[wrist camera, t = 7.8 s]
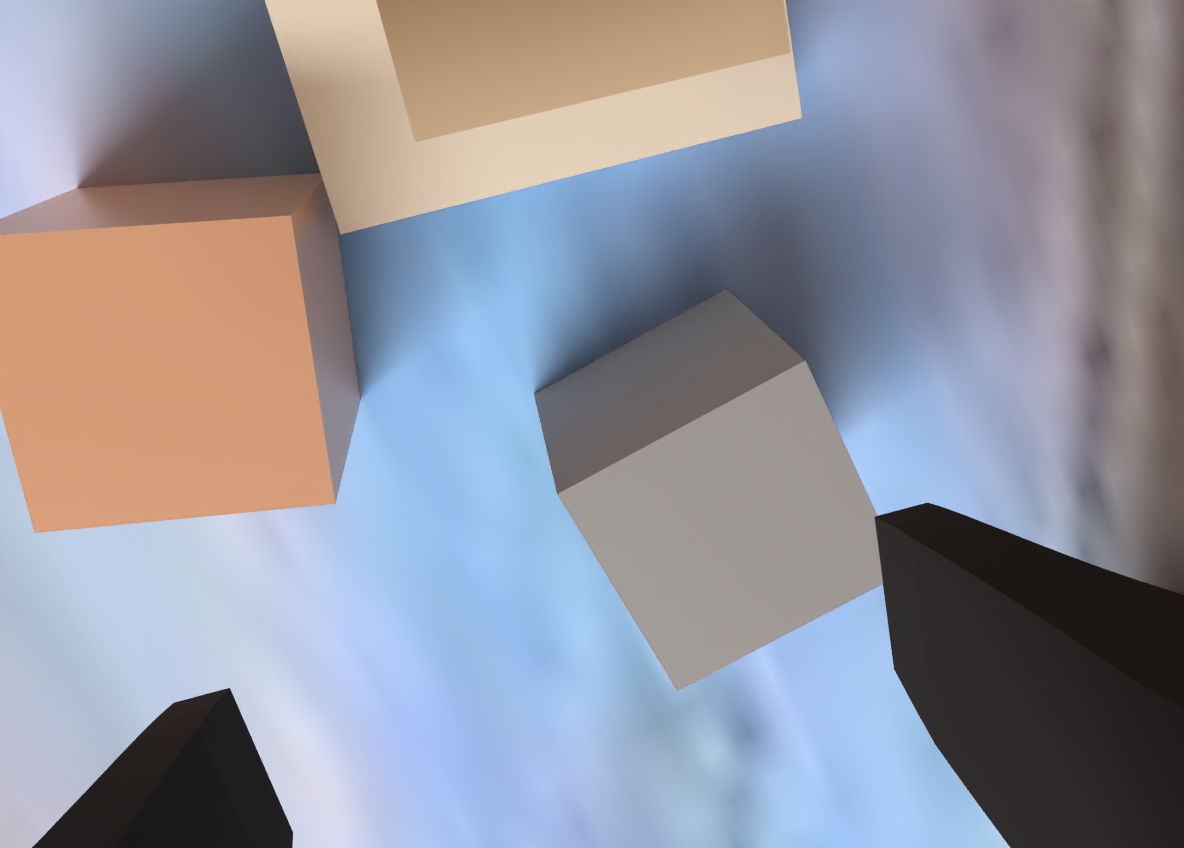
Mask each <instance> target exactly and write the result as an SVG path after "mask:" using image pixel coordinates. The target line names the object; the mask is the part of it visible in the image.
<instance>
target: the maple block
mask: <svg viewBox="0 0 1184 848" xmlns="http://www.w3.org/2000/svg"><path fill="white" fill-rule="evenodd" d="M376 2H377V6H378V9H379V13H380V17H381V20H382V24H383V28H384V31H385V35H386V38H387V42H388V46H389V49H390V53H391V57H392V60H393V64H394V67H395V71H396V75H397V78H398V82H399V86H400V89H401V93H402V96H403V100H404V104H405V107H406V111H407V115H408V118H409V122H410V125H411V129H412V133H413V136H414V140H415V142H418V141H423V140H427V139H431V138H435V137H439V136H444V135H448V134H452V133H456V132H460V131H465V130H469V129H473V128H477V127H481V126H486V125H490V124H494V123H498V122H502V121H507V120H511V119H515V118H519V117H523V116H527V115H532V114H536V113H540V112H544V111H548V110H553V109H557V108H561V107H565V106H569V105H574V104H578V103H582V102H586V101H590V100H595V99H599V98H603V97H607V96H611V95H616V94H620V93H624V92H628V91H632V90H637V89H641V88H645V87H649V86H653V85H658V84H662V83H666V82H670V81H674V80H679V79H683V78H687V77H691V76H695V75H700V74H704V73H708V72H712V71H716V70H720V69H725V68H729V67H733V66H737V65H741V64H746V63H750V62H754V61H758V60H762V59H767V58H771V57H775V56H779V55H783V54H788V53H791V51H790V44H789V36H788V29H787V21H786V14H785V6H784V0H376Z"/></svg>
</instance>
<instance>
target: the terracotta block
mask: <svg viewBox="0 0 1184 848" xmlns="http://www.w3.org/2000/svg"><path fill="white" fill-rule="evenodd" d="M360 400H361V398H360V391H359V384H358V376H357V369H356V362H355V355H354V347H353V340H352V333H351V326H350V318H349V311H348V304H347V296H346V289H345V282H344V275H343V267H342V260H341V253H340V246H339V238H338V231H337V224H336V219H335V216H334V213H333V209H332V206H331V203H330V200H329V197H328V194H327V191H326V188H325V185H324V182H323V179H322V176H321V173H310V174H294V175H278V176H262V177H246V178H230V179H215V180H199V181H183V182H167V183H151V184H135V185H119V186H103V187H87V188H76V189H74V190H71V191H69V192H66V193H64V194H61V195H59V196H56V197H54V198H51V199H49V200H46V201H44V202H41V203H39V204H36V205H34V206H32V207H29V208H27V209H24V210H22V211H19V212H17V213H14V214H12V215H9V216H7V217H4V218H2V219H0V409H1V413H2V417H3V420H4V424H5V427H6V431H7V435H8V438H9V442H10V446H11V449H12V453H13V456H14V460H15V464H16V467H17V471H18V474H19V478H20V482H21V485H22V489H23V493H24V496H25V500H26V503H27V507H28V511H29V514H30V518H31V522H32V525H33V529H34V532H35V533H39V532H49V531H60V530H70V529H80V528H91V527H101V526H111V525H121V524H132V523H142V522H152V521H163V520H173V519H183V518H194V517H204V516H214V515H224V514H235V513H245V512H255V511H266V510H276V509H286V508H296V507H307V506H317V505H327V504H335V503H336V499H337V495H338V490H339V486H340V482H341V478H342V474H343V470H344V466H345V462H346V458H347V454H348V449H349V445H350V441H351V437H352V433H353V429H354V425H355V421H356V417H357V413H358V408H359V404H360Z"/></svg>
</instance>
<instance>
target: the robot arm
mask: <svg viewBox="0 0 1184 848" xmlns="http://www.w3.org/2000/svg"><path fill="white" fill-rule="evenodd" d="M874 518H875V525H876V533H877V541H878V548H879V556H880V564H881V572H882V579H883V587H884V595H885V602H886V610H887V618H888V626H889V633H890V641H891V649H892V656H893V664H894V670H895V671H896V673H897V675H898V677H899V679H900V681H901V683H902V685H903V686H904V688H905V690H906V692H907V694H908V696H909V698H910V700H911V702H912V703H913V705H914V707H915V709H916V711H917V713H918V714H919V716H920V718H921V720H922V722H923V723H924V725H925V727H926V729H927V730H928V732H929V734H930V736H931V737H932V739H933V741H934V743H935V745H936V746H937V747H938V749H939V750H940V752H941V753H942V754H943V756H944V757H945V759H946V760H947V761H948V763H949V764H950V766H951V767H952V768H953V770H954V771H955V773H956V774H957V775H958V777H959V778H960V779H961V781H962V782H963V784H964V785H965V786H966V788H967V789H968V790H969V792H970V793H971V795H972V796H973V797H974V799H975V800H976V802H977V803H978V804H979V806H980V807H981V808H982V810H983V811H984V812H985V814H986V815H987V816H988V818H989V819H990V821H991V822H992V823H993V825H994V826H995V827H996V829H997V830H998V831H999V833H1000V834H1001V835H1002V837H1003V838H1004V840H1005V841H1006V842H1007V844H1008V845H1009V846H1010V848H1184V595H1182V594H1179V593H1176V592H1172V591H1169V590H1166V589H1163V588H1160V587H1157V586H1154V585H1150V584H1147V583H1144V582H1141V581H1138V580H1135V579H1132V578H1129V577H1126V576H1123V575H1120V574H1117V573H1115V572H1112V571H1109V570H1106V569H1103V568H1100V567H1098V566H1095V565H1092V564H1089V563H1087V562H1084V561H1081V560H1078V559H1076V558H1073V557H1070V556H1068V555H1065V554H1062V553H1060V552H1057V551H1055V550H1052V549H1049V548H1047V547H1044V546H1042V545H1039V544H1036V543H1034V542H1031V541H1029V540H1026V539H1024V538H1021V537H1019V536H1016V535H1014V534H1011V533H1008V532H1006V531H1003V530H1001V529H998V528H996V527H993V526H991V525H988V524H986V523H983V522H981V521H978V520H975V519H973V518H970V517H968V516H965V515H963V514H960V513H957V512H954V511H952V510H949V509H946V508H943V507H940V506H937V505H934V504H930V503H925V504H921V505H917V506H913V507H909V508H906V509H902V510H898V511H894V512H891V513H887V514H883V515H879V516H876V517H874ZM292 842H293V831H292V829H291V827H290V825H289V822H288V820H287V818H286V815H285V813H284V811H283V809H282V806H281V804H280V802H279V799H278V797H277V795H276V793H275V790H274V788H273V786H272V783H271V781H270V779H269V777H268V774H267V772H266V770H265V767H264V765H263V763H262V761H261V758H260V756H259V754H258V752H257V749H256V747H255V745H254V742H253V740H252V738H251V736H250V733H249V731H248V729H247V726H246V724H245V722H244V720H243V717H242V715H241V713H240V710H239V708H238V706H237V704H236V701H235V699H234V697H233V694H232V692H231V690H230V688H228V689H224V690H220V691H217V692H213V693H209V694H205V695H202V696H198V697H194V698H190V699H186V700H183V701H179V702H175V703H173V704H172V705H171V706H170V707H169V708H167V709H166V710H165V711H164V712H163V713H162V714H161V715H160V716H158V717H157V718H156V719H155V720H154V721H153V722H152V723H151V724H150V725H149V726H148V727H147V728H146V729H145V730H144V731H143V732H142V733H141V734H140V735H139V736H138V737H137V738H136V739H135V740H134V741H133V742H132V743H131V744H130V746H129V747H128V748H127V749H126V750H125V751H124V752H123V753H122V754H121V755H120V756H119V757H118V758H117V759H116V760H115V761H114V762H113V763H112V764H111V766H110V767H109V768H108V769H107V770H106V771H105V772H104V773H103V774H102V775H101V776H100V777H99V778H98V779H97V780H96V781H95V782H94V784H93V785H92V786H91V787H90V788H89V789H88V790H87V791H86V792H85V793H84V794H83V795H82V796H81V797H80V798H79V799H78V800H77V801H76V802H75V803H74V805H73V806H72V807H71V808H70V809H69V810H68V811H67V812H66V813H65V814H64V815H63V816H62V817H61V818H60V819H59V820H58V821H57V822H56V823H55V824H54V826H53V827H52V828H51V829H50V830H49V831H48V832H47V833H46V834H45V835H44V836H43V837H42V838H41V839H40V840H39V841H38V842H37V843H36V844H35V845H34V846H33V847H32V848H292Z"/></svg>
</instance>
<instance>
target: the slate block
mask: <svg viewBox="0 0 1184 848" xmlns="http://www.w3.org/2000/svg"><path fill="white" fill-rule="evenodd" d="M534 396H535V401H536V405H537V409H538V413H539V418H540V422H541V426H542V431H543V435H544V439H545V443H546V448H547V452H548V456H549V461H550V465H551V469H552V474H553V478H554V482H555V486H556V491H557V494H558V496H559V498H560V499H561V501H562V503H563V504H564V506H565V508H566V509H567V511H568V512H569V514H570V516H571V517H572V519H573V521H574V522H575V524H576V526H577V527H578V529H579V531H580V532H581V534H582V535H583V537H584V539H585V540H586V542H587V544H588V545H589V547H590V549H591V550H592V552H593V553H594V555H595V557H596V558H597V560H598V562H599V563H600V565H601V567H602V568H603V570H604V572H605V573H606V575H607V576H608V578H609V580H610V581H611V583H612V585H613V586H614V588H615V590H616V591H617V593H618V594H619V596H620V598H621V599H622V601H623V603H624V604H625V606H626V608H627V609H628V611H629V613H630V614H631V616H632V617H633V619H634V621H635V622H636V624H637V626H638V627H639V629H640V631H641V632H642V634H643V635H644V637H645V639H646V640H647V642H648V644H649V645H650V647H651V649H652V650H653V652H654V654H655V655H656V657H657V658H658V660H659V662H660V663H661V665H662V667H663V668H664V670H665V672H666V673H667V675H668V676H669V678H670V680H671V681H672V683H673V685H674V686H675V688H676V690H677V691H678V690H680V689H682V688H684V687H686V686H688V685H690V684H692V683H694V682H696V681H697V680H699V679H701V678H703V677H705V676H707V675H709V674H711V673H713V672H715V671H717V670H719V669H720V668H722V667H724V666H726V665H728V664H730V663H732V662H734V661H736V660H738V659H740V658H742V657H743V656H745V655H747V654H749V653H751V652H753V651H755V650H757V649H759V648H761V647H763V646H765V645H767V644H768V643H770V642H772V641H774V640H776V639H778V638H780V637H782V636H784V635H786V634H788V633H790V632H791V631H793V630H795V629H797V628H799V627H801V626H803V625H805V624H807V623H809V622H811V621H813V620H814V619H816V618H818V617H820V616H822V615H824V614H826V613H828V612H830V611H832V610H834V609H836V608H837V607H839V606H841V605H843V604H845V603H847V602H849V601H851V600H853V599H855V598H857V597H859V596H860V595H862V594H864V593H866V592H868V591H870V590H872V589H874V588H876V587H878V586H880V585H882V584H883V579H882V572H881V564H880V556H879V548H878V541H877V533H876V525H875V518H874V517H876V516H877V514H876V512H875V509H874V507H873V505H872V503H871V501H870V499H869V496H868V494H867V492H866V490H865V488H864V486H863V483H862V481H861V479H860V477H859V475H858V473H857V471H856V468H855V466H854V464H853V462H852V460H851V458H850V455H849V453H848V451H847V449H846V447H845V445H844V442H843V440H842V438H841V436H840V434H839V432H838V429H837V427H836V425H835V423H834V421H833V419H832V416H831V414H830V412H829V410H828V408H827V406H826V403H825V401H824V399H823V397H822V395H821V393H820V391H819V388H818V386H817V384H816V382H815V380H814V378H813V375H812V373H811V371H810V369H809V367H808V365H807V362H806V360H805V359H804V358H802V357H801V356H800V355H799V354H798V353H797V352H796V351H795V350H794V349H793V348H791V347H790V346H789V345H788V344H787V343H786V342H785V341H784V340H783V339H782V338H780V337H779V336H778V335H777V334H776V333H775V332H774V331H773V330H772V329H771V328H770V327H768V326H767V325H766V324H765V323H764V322H763V321H762V320H761V319H760V318H759V317H757V316H756V315H755V314H754V313H753V312H752V311H751V310H750V309H749V308H748V307H746V306H745V305H744V304H743V303H742V302H741V301H740V300H739V299H738V298H737V297H735V296H734V295H733V294H732V293H731V292H730V291H729V290H728V289H725V290H723V291H721V292H719V293H717V294H716V295H714V296H712V297H710V298H708V299H706V300H705V301H703V302H701V303H699V304H697V305H695V306H694V307H692V308H690V309H688V310H686V311H685V312H683V313H681V314H679V315H677V316H675V317H674V318H672V319H670V320H668V321H666V322H664V323H663V324H661V325H659V326H657V327H655V328H653V329H652V330H650V331H648V332H646V333H644V334H642V335H641V336H639V337H637V338H635V339H633V340H632V341H630V342H628V343H626V344H624V345H622V346H621V347H619V348H617V349H615V350H613V351H611V352H610V353H608V354H606V355H604V356H602V357H600V358H599V359H597V360H595V361H593V362H591V363H590V364H588V365H586V366H584V367H582V368H580V369H579V370H577V371H575V372H573V373H571V374H569V375H568V376H566V377H564V378H562V379H560V380H558V381H557V382H555V383H553V384H551V385H549V386H547V387H546V388H544V389H542V390H540V391H538V392H537V393H535V394H534Z"/></svg>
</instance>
